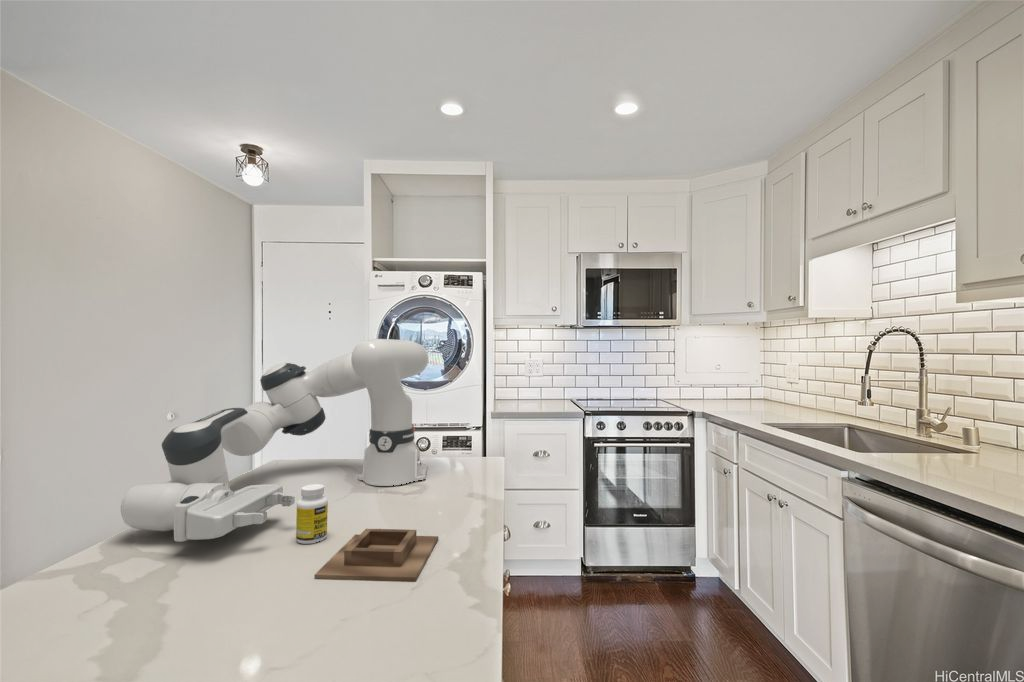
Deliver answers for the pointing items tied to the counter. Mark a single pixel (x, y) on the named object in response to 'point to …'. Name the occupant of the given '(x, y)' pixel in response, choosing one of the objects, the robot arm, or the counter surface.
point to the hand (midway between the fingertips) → (279, 508)
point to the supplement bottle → (311, 515)
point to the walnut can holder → (380, 556)
